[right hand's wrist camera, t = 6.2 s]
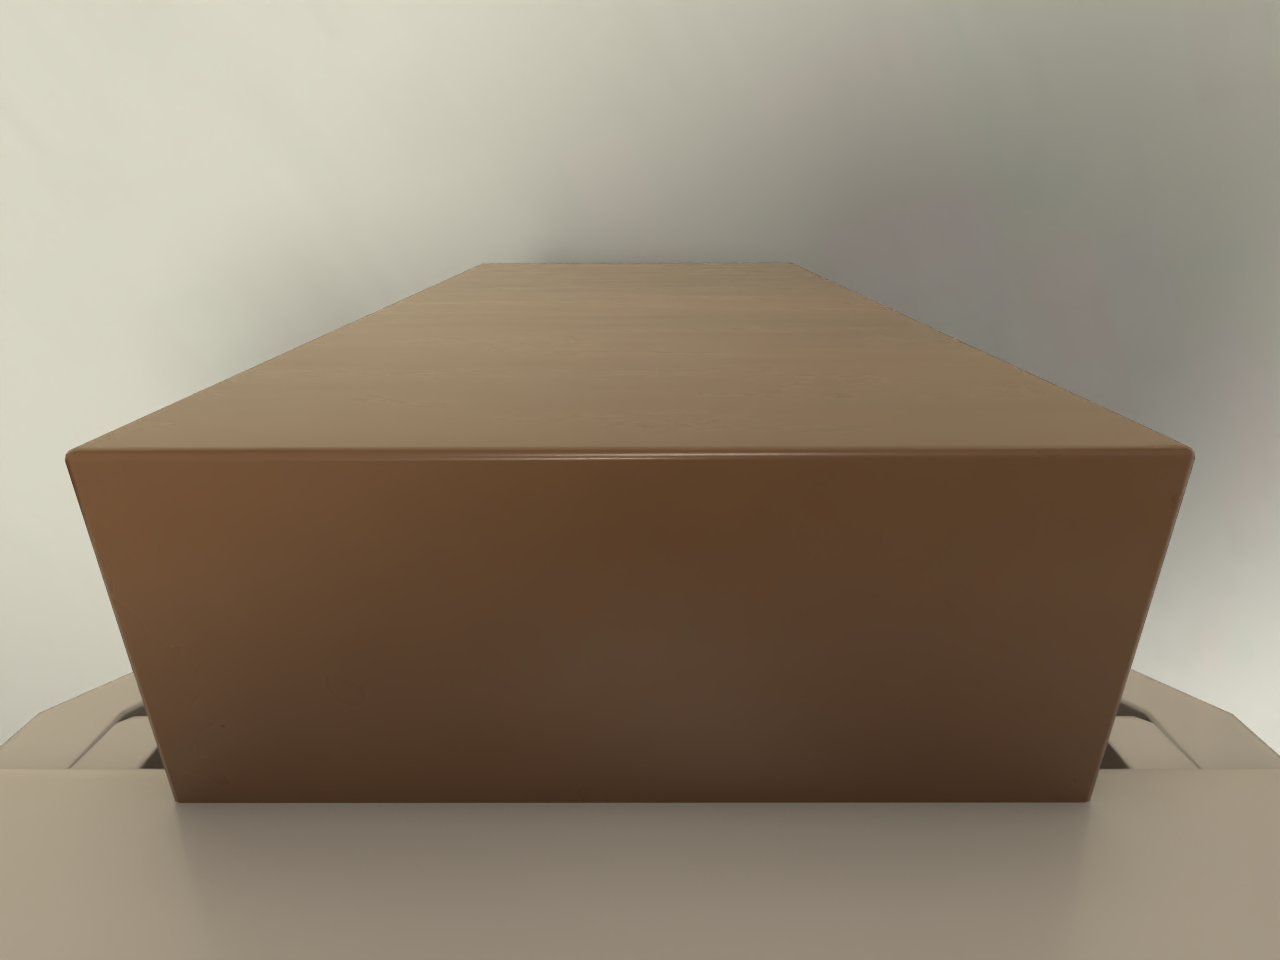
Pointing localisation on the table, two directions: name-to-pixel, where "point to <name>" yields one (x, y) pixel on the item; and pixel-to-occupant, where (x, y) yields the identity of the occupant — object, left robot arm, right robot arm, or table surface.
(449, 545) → the box
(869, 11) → the table surface
